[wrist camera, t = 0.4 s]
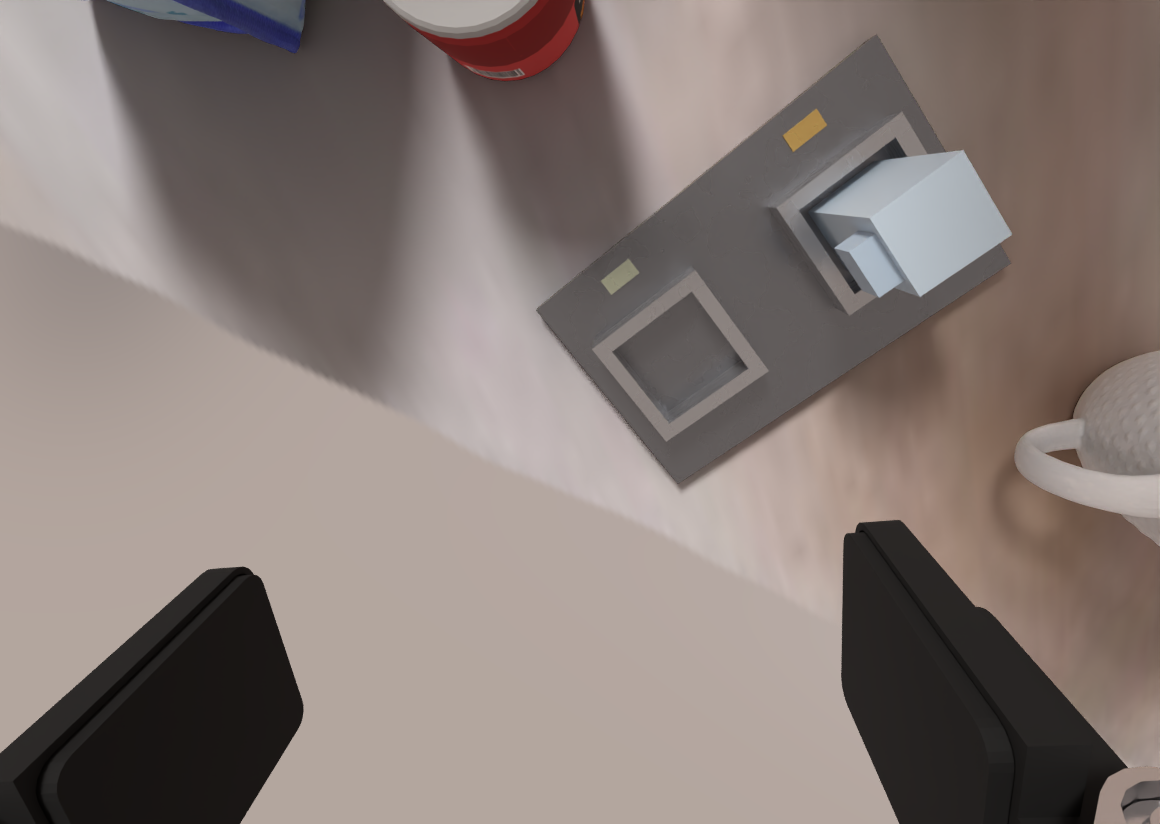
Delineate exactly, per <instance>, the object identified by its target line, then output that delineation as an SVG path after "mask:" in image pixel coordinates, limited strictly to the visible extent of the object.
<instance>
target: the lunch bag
mask: <svg viewBox="0 0 1160 824" xmlns="http://www.w3.org/2000/svg"><path fill="white" fill-rule="evenodd" d="M107 1H109V2H111V3H114V4H116V5H119V6H122V7H125V8H127V9H130V10H133V11H136V12H139V13H142V14H145V15H148V16H151V17H154V18H157V19H164V20H177V21H180V22H183V23H186V24H190V25H195V26H200V27H205V28H210V29H214V30H217V31H223V32H230V33H237V34H250V35H252V36H253V37H255V38H258V39H260V40H262V41H264V42H267V43H270V44H273V45H276V46H278V47H281V48H284V49H287V50H288V51H290V52H292V53H297V51H298V49H299V46H300V38H301V33H302V30H303V27H304V16H305V2H306V0H107Z"/></svg>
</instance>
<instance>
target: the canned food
mask: <svg viewBox="0 0 1160 824" xmlns="http://www.w3.org/2000/svg"><path fill="white" fill-rule="evenodd" d="M383 1H384V2H385V4H386V5H387V6H388V7H390V8H391V9H392V10H393V11H394V12H395V13H396V14H397V15H398V16H399V17H401V18H402V19H403V20H404V21H405V22H407V23H408V24H409V25H410V26H411V27H412V28H413V29H415V30H416V31H417V32H419V33H420V34H421V35H423V36H424V37H425V38H427V39H428V40H429V41H431V42H432V43H433V44H435V45H436V46H437V47H439V48H440V49H441V50H443V51H444V52H445V53H447V54H448V55H449V56H451V57H452V58H453V59H455V60H456V61H457V62H459V63H460V64H461V65H462V66H464V67H465V68H467V69H469V70H470V71H472V72H474V73H475V74H477V75H480V76H483V77H486V78H489V79H493V80H502V81H511V80H521V79H524V78H527V77H530V76H533V75H536V74H537V73H539V72H541V71H543V70H544V69H546V68H548V67H549V66H550V65H551V64H553V63H554V62H555V61H556V60H557V59H558V58H559V57H560V56H561V55H562V54H563V53H564V51H565V50H566V49H567V47H568V46H569V45H570V43H571V41H572V39H573V38H574V36H575V34H576V32H577V30H578V27H579V24H580V21H581V18H582V15H583V9H584V2H585V0H383Z"/></svg>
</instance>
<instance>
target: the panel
mask: <svg viewBox="0 0 1160 824" xmlns="http://www.w3.org/2000/svg"><path fill="white" fill-rule="evenodd" d="M943 152H946V151H945V150H944V148H943V146H942V145H941V143H940V141H939V140H938V138H937V136H936V134H935V133H934V131H933V129H932V128H931V126H930V124H929V123H928V121H927V119H926V117H925V116H924V114H923V112H922V111H921V109H920V107H919V106H918V104H917V102H916V100H915V99H914V97H913V95H912V94H911V92H910V90H909V88H908V87H907V85H906V83H905V82H904V80H903V78H902V77H901V75H900V73H899V71H898V70H897V68H896V66H895V65H894V63H893V61H892V60H891V58H890V56H889V54H888V53H887V51H886V49H885V48H884V46H883V44H882V43H881V41H880V39H879V37H878V36H877V34H876V35H875V36H873V37H871V38H870V39H868V40H867V41H866V42H865V43H864V44H862V45H861V46H860V47H859V48H857V49H856V50H855V51H854V52H852V53H851V54H850V55H849V56H847V57H846V58H845V59H844V60H843V61H841V62H840V63H839V64H838V65H836V66H835V67H834V68H833V69H831V70H830V71H829V72H828V73H827V74H825V75H824V76H823V77H822V78H820V79H819V80H818V81H817V82H815V83H814V84H813V85H812V86H811V87H809V88H808V89H807V90H806V91H804V92H803V93H802V94H801V95H799V96H798V97H797V98H796V99H794V100H793V101H792V102H791V103H790V104H788V105H787V106H786V107H785V108H783V109H782V110H781V111H780V112H778V113H777V114H776V115H775V116H774V117H772V118H771V119H770V120H769V121H767V122H766V123H765V124H764V125H762V126H761V127H760V128H759V129H758V130H756V131H755V132H754V133H753V134H751V135H750V136H749V137H748V138H746V139H745V140H744V141H743V142H741V143H740V144H739V145H738V146H737V147H735V148H734V149H733V150H732V151H730V152H729V153H728V154H727V155H725V156H724V157H723V158H722V159H721V160H719V161H718V162H717V163H716V164H714V165H713V166H712V167H711V168H709V169H708V170H707V171H706V172H705V173H703V174H702V175H701V176H700V177H698V178H697V179H696V180H695V181H693V182H692V183H691V184H690V185H688V186H687V187H686V188H685V189H684V190H682V191H681V192H680V193H679V194H677V195H676V196H675V197H674V198H672V199H671V200H670V201H669V202H668V203H666V204H665V205H664V206H663V207H661V208H660V209H659V210H658V211H656V212H655V213H654V214H653V215H652V216H650V217H649V218H648V219H647V220H645V221H644V222H643V223H642V224H640V225H639V226H638V227H637V228H635V229H634V230H633V231H632V232H631V233H629V234H628V235H627V236H626V237H624V238H623V239H622V240H621V241H619V242H618V243H617V244H616V245H615V246H613V247H612V248H611V249H610V250H608V251H607V252H606V253H605V254H603V255H602V256H601V257H600V258H599V259H597V260H596V261H595V262H594V263H592V264H591V265H590V266H589V267H587V268H586V269H585V270H584V271H582V272H581V273H580V274H579V275H578V276H576V277H575V278H574V279H573V280H571V281H570V282H569V283H568V284H566V285H565V286H564V287H563V288H562V289H560V290H559V291H558V292H557V293H555V294H554V295H553V296H552V297H550V298H549V299H548V300H547V301H546V302H544V303H543V304H542V305H541V306H539V307H538V308H537V310H536V311H537V312H538V313H539V314H540V316H541V317H542V318H543V319H544V320H545V322H546V323H547V324H548V325H549V327H550V328H551V329H552V330H553V331H554V333H555V334H556V335H557V336H558V338H559V339H560V340H561V341H562V343H563V344H564V345H565V346H566V347H567V349H568V350H569V351H570V352H571V354H572V355H573V356H574V357H575V358H576V360H577V361H578V362H579V363H580V365H581V366H582V367H583V368H584V369H585V371H586V372H587V373H588V374H589V376H590V377H591V378H592V379H593V380H594V382H595V383H596V384H597V385H598V387H599V388H600V389H601V390H602V392H603V393H604V394H605V395H606V396H607V398H608V399H609V400H610V401H611V403H612V404H613V405H614V406H615V407H616V409H617V410H618V411H619V412H620V414H621V415H622V416H623V417H624V418H625V420H626V421H627V422H628V423H629V425H630V426H631V427H632V428H633V430H634V431H635V432H636V433H637V434H638V436H639V437H640V438H641V439H642V441H643V442H644V443H645V444H646V445H647V447H648V448H649V449H650V450H651V452H652V453H653V454H654V455H655V456H656V458H657V459H658V460H659V461H660V463H661V464H662V465H663V466H664V467H665V469H666V470H667V471H668V472H669V474H670V475H671V476H672V477H673V479H674V480H675V481H676V482H677V483H680V482H681V481H683V480H684V479H686V478H687V477H689V476H690V475H692V474H693V473H695V472H696V471H698V470H699V469H701V468H703V467H704V466H706V465H707V464H709V463H710V462H712V461H713V460H715V459H716V458H718V457H719V456H721V455H722V454H724V453H725V452H727V451H728V450H730V449H731V448H733V447H734V446H736V445H737V444H739V443H740V442H742V441H743V440H745V439H746V438H748V437H749V436H751V435H752V434H754V433H755V432H757V431H758V430H760V429H761V428H763V427H764V426H766V425H767V424H769V423H770V422H772V421H773V420H775V419H777V418H778V417H780V416H781V415H783V414H784V413H786V412H787V411H789V410H790V409H792V408H793V407H795V406H796V405H798V404H799V403H801V402H802V401H804V400H805V399H807V398H808V397H810V396H811V395H813V394H814V393H816V392H817V391H819V390H820V389H822V388H823V387H825V386H826V385H828V384H829V383H831V382H832V381H834V380H835V379H837V378H838V377H840V376H841V375H843V374H844V373H846V372H847V371H849V370H850V369H852V368H854V367H855V366H857V365H858V364H860V363H861V362H863V361H864V360H866V359H867V358H869V357H870V356H872V355H873V354H875V353H876V352H878V351H879V350H881V349H882V348H884V347H885V346H887V345H888V344H890V343H891V342H893V341H894V340H896V339H897V338H899V337H900V336H902V335H903V334H905V333H906V332H908V331H909V330H911V329H912V328H914V327H915V326H917V325H918V324H920V323H921V322H923V321H924V320H926V319H928V318H929V317H931V316H932V315H934V314H935V313H937V312H938V311H940V310H941V309H943V308H944V307H946V306H947V305H949V304H950V303H952V302H953V301H955V300H956V299H958V298H959V297H961V296H962V295H964V294H965V293H967V292H968V291H970V290H971V289H973V288H974V287H976V286H977V285H979V284H980V283H982V282H983V281H985V280H986V279H988V278H989V277H991V276H992V275H994V274H995V273H997V272H998V271H1000V270H1002V269H1003V268H1005V267H1006V266H1008V265H1009V264H1011V262H1010V260H1009V259H1008V257H1007V255H1006V254H1005V252H1004V250H1003V248H1002V247H1001V245H1000V243H999V244H998V245H996V246H995V247H993V248H992V249H990V250H989V251H987V252H986V253H984V254H983V255H981V256H980V257H978V258H977V259H975V260H974V261H973V262H971V263H970V264H968V265H967V266H965V267H964V268H962V269H961V270H959V271H958V272H956V273H955V274H953V275H952V276H950V277H949V278H947V279H946V280H944V281H943V282H941V283H940V284H938V285H937V286H935V287H934V288H932V289H931V290H930V291H928V292H927V293H925V294H924V295H922V296H921V297H919V296H916V295H913V294H910V293H907V292H905V291H902V290H899V289H896V288H893V289H891V290H890V291H888V292H887V293H885V294H884V295H882V296H881V297H880V298H879V297H876V296H874V295H871V294H869V293H867V292H864V291H862V290H861V288H860V287H859V285H858V284H857V282H856V281H855V279H854V278H853V276H852V275H851V273H850V272H848V271H846V269H845V268H844V266H843V265H842V263H841V261H840V260H839V258H838V257H837V255H836V254H835V252H834V251H833V249H832V248H831V246H830V245H829V243H828V242H827V240H826V239H825V237H824V236H823V234H822V233H821V231H820V230H819V228H818V227H817V225H816V224H815V222H814V221H813V219H812V218H811V216H810V215H809V213H808V211H809V210H810V209H812V208H813V207H814V206H816V205H817V204H818V203H820V202H821V201H822V200H824V199H825V198H826V197H828V196H829V195H830V194H831V193H833V192H834V191H835V190H837V189H838V188H839V187H841V186H842V185H843V184H845V183H846V182H847V181H849V180H850V179H851V178H853V177H854V176H855V175H857V174H858V173H859V172H861V171H862V170H863V169H865V168H866V167H867V166H869V165H870V164H871V163H873V162H874V161H880V160H888V159H896V158H904V157H912V156H920V155H927V154H935V153H943Z"/></svg>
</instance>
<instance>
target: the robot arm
mask: <svg viewBox="0 0 1160 824" xmlns="http://www.w3.org/2000/svg"><path fill="white" fill-rule="evenodd" d="M841 671H842V673H841V678H842V688H843V692H844V696H845V700H846V703H847V705H848V708H849V710H850V712H851V714H852V717H853V719H854V721H855V724H856V726H857V728H858V730H859V733H860V735H861V737H862V739H863V742H864V744H865V746H866V749H867V751H868V753H869V755H870V758H871V760H872V762H873V765H874V767H875V769H876V771H877V774H878V776H879V778H880V781H881V783H882V785H883V787H884V790H885V792H886V794H887V797H888V799H889V801H890V803H891V805H892V808H893V810H894V812H895V815H896V817H897V819H898V822H899V824H1160V768H1158V767H1150V766H1144V767H1135V768H1128V767H1127V766H1126V765H1125V764H1124V763H1123V762H1122V760H1121V759H1120V758H1119V757H1118V756H1117V755H1116V754H1115V752H1114V751H1113V750H1112V749H1111V748H1110V747H1109V746H1108V745H1107V743H1106V742H1105V741H1104V740H1103V739H1102V738H1101V737H1100V735H1099V734H1098V733H1097V732H1096V731H1095V730H1094V729H1093V728H1092V726H1091V725H1090V724H1089V723H1088V722H1087V721H1086V720H1085V719H1084V717H1083V716H1082V715H1081V714H1080V713H1079V712H1078V711H1077V709H1076V708H1075V707H1074V706H1073V705H1072V704H1071V703H1070V702H1069V700H1068V699H1067V698H1066V697H1065V696H1064V695H1063V694H1062V692H1061V691H1060V690H1059V689H1058V688H1057V687H1056V686H1055V685H1054V683H1053V682H1052V681H1051V680H1050V679H1049V678H1048V677H1047V675H1046V674H1045V673H1044V672H1043V671H1042V670H1041V669H1040V668H1039V666H1038V665H1037V664H1036V663H1035V662H1034V661H1033V660H1032V659H1031V657H1030V656H1029V655H1028V654H1027V653H1026V652H1025V651H1024V649H1023V648H1022V647H1021V646H1020V645H1019V644H1018V643H1017V642H1016V640H1015V639H1014V638H1013V637H1012V636H1011V635H1010V634H1009V632H1008V631H1007V630H1006V629H1005V628H1004V627H1003V626H1002V625H1001V623H1000V622H999V621H998V620H997V619H996V618H995V617H994V616H993V615H992V614H991V613H990V612H989V611H987V610H986V609H984V608H981V607H975V606H974V605H973V604H972V602H971V601H970V600H969V599H968V598H967V597H966V595H965V594H964V593H963V592H962V591H961V590H960V588H959V587H958V586H957V585H956V584H955V583H954V581H953V580H952V579H951V578H950V577H949V576H948V574H947V573H946V572H945V571H944V570H943V569H942V567H941V566H940V565H939V564H938V563H937V562H936V560H935V559H934V558H933V557H932V556H931V555H930V553H929V552H928V551H927V550H926V549H925V548H924V546H923V545H922V544H921V543H920V542H919V541H918V539H917V538H916V537H915V536H914V535H913V534H912V532H911V531H910V530H909V529H908V528H907V527H906V525H905V524H904V523H903V522H901V521H900V520H892V521H878V522H864V523H859V524H858V525H857V527H856V532H855V533H847V534H846V535H845V537H844V549H843V610H842V670H841ZM302 717H303V702H302V698H301V695H300V692H299V690H298V686H297V684H296V680H295V678H294V675H293V671H292V668H291V665H290V663H289V659H288V657H287V653H286V650H285V647H284V644H283V642H282V638H281V635H280V632H279V629H278V626H277V623H276V620H275V617H274V614H273V612H272V608H271V606H270V602H269V599H268V597H267V594H266V590H265V588H264V584H263V582H262V580H261V578H260V577H258V576H257V575H254V574H253V573H252V572H251V570H250V569H248V568H246V567H233V568H219V569H210V570H207V571H205V572H204V573H202V574H201V575H200V576H199V577H198V578H197V579H196V580H194V582H192V583H191V584H190V585H189V586H188V587H187V588H186V589H185V590H183V591H182V592H181V593H180V594H179V595H178V596H177V597H175V598H174V599H173V600H172V601H171V602H170V603H169V604H168V605H166V606H165V607H164V608H163V609H162V610H161V611H160V612H159V613H158V614H156V615H155V616H154V617H153V618H152V619H151V620H150V621H148V622H147V623H146V624H145V625H144V626H143V627H142V628H141V629H139V630H138V631H137V632H136V633H135V634H134V635H133V636H132V637H131V638H129V639H128V640H127V641H126V642H125V643H124V644H123V645H121V646H120V647H119V648H118V649H117V650H116V651H115V652H114V653H113V654H111V655H110V656H109V657H108V658H107V659H106V660H105V661H104V662H102V663H101V664H100V665H99V666H98V667H97V668H96V669H94V670H93V671H92V672H91V673H90V674H89V675H88V676H87V677H86V678H85V679H83V680H82V681H81V682H80V683H79V684H78V685H76V686H75V687H74V688H73V689H72V690H71V691H70V692H69V693H68V694H66V695H65V696H64V697H63V698H62V699H61V700H60V701H59V702H57V703H56V704H55V705H54V706H53V707H52V708H51V709H50V710H48V711H47V712H46V713H45V714H44V715H43V716H42V717H41V718H39V719H38V720H37V721H36V722H35V723H34V724H33V725H32V726H31V727H29V728H28V729H27V730H26V731H25V732H24V733H23V734H21V735H20V736H19V737H18V738H17V739H16V740H15V741H14V742H13V743H11V744H10V745H9V746H8V747H7V748H6V749H5V750H4V751H2V752H1V753H0V824H240V823H241V821H242V819H243V818H244V816H245V815H246V813H247V811H248V810H249V808H250V806H251V805H252V803H253V801H254V800H255V798H256V797H257V795H258V793H259V792H260V790H261V789H262V787H263V785H264V784H265V782H266V780H267V779H268V777H269V775H270V774H271V772H272V771H273V769H274V767H275V766H276V764H277V762H278V761H279V759H280V758H281V756H282V754H283V753H284V751H285V749H286V748H287V746H288V744H289V743H290V741H291V740H292V738H293V736H294V735H295V733H296V732H297V730H298V728H299V726H300V724H301V721H302Z"/></svg>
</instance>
